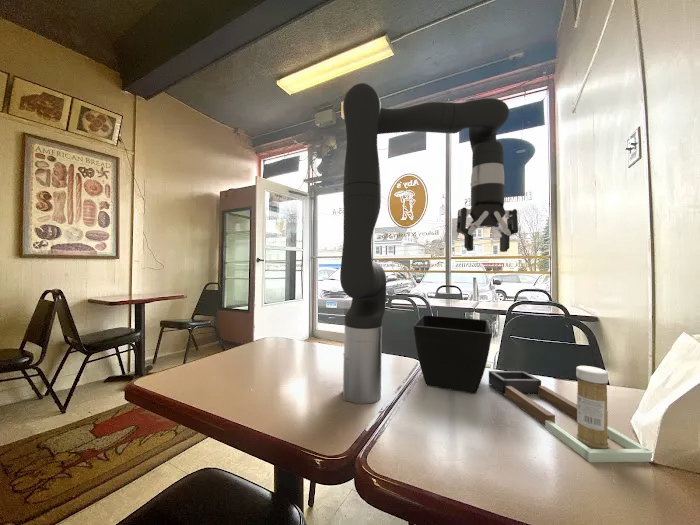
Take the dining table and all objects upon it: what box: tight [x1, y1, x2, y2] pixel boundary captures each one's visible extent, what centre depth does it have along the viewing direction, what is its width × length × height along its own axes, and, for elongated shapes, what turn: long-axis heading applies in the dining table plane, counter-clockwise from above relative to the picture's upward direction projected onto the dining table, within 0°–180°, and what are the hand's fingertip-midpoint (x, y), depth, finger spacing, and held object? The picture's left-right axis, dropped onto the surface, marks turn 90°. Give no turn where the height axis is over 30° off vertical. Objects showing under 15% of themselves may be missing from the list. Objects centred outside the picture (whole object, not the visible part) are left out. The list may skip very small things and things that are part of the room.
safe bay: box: [544, 420, 654, 463], centre depth 54 cm, size 11×10×2 cm
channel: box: [504, 385, 577, 427], centre depth 67 cm, size 10×15×2 cm, turn 2°
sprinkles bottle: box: [575, 365, 609, 449], centre depth 55 cm, size 5×5×13 cm
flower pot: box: [413, 314, 493, 394], centre depth 83 cm, size 19×19×17 cm
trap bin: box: [488, 370, 542, 395], centre depth 79 cm, size 10×7×4 cm
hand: (486, 251), depth 73 cm, fingers open, 8 cm apart
